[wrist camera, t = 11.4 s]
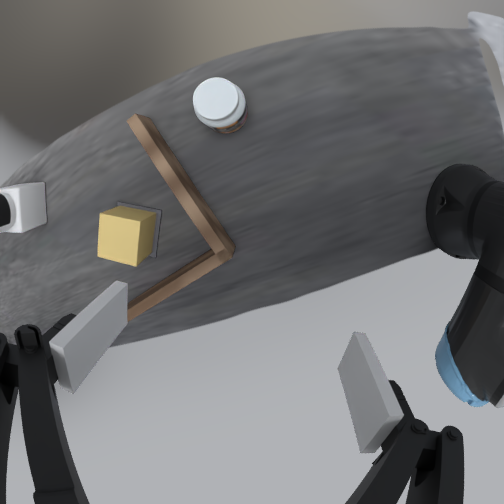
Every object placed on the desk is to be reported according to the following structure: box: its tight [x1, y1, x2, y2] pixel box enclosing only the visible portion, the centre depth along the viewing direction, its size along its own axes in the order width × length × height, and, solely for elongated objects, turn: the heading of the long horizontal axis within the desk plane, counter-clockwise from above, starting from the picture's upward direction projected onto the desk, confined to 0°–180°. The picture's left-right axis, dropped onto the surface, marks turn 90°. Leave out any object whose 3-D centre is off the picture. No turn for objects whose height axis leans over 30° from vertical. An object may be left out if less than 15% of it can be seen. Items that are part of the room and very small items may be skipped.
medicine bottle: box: [0, 182, 47, 233], centre depth 34 cm, size 7×7×12 cm
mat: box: [117, 202, 162, 258], centre depth 41 cm, size 10×10×1 cm
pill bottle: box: [193, 78, 248, 133], centre depth 31 cm, size 6×6×10 cm
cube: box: [98, 206, 156, 266], centre depth 38 cm, size 6×6×6 cm
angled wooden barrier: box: [127, 114, 236, 322], centre depth 38 cm, size 22×20×5 cm
